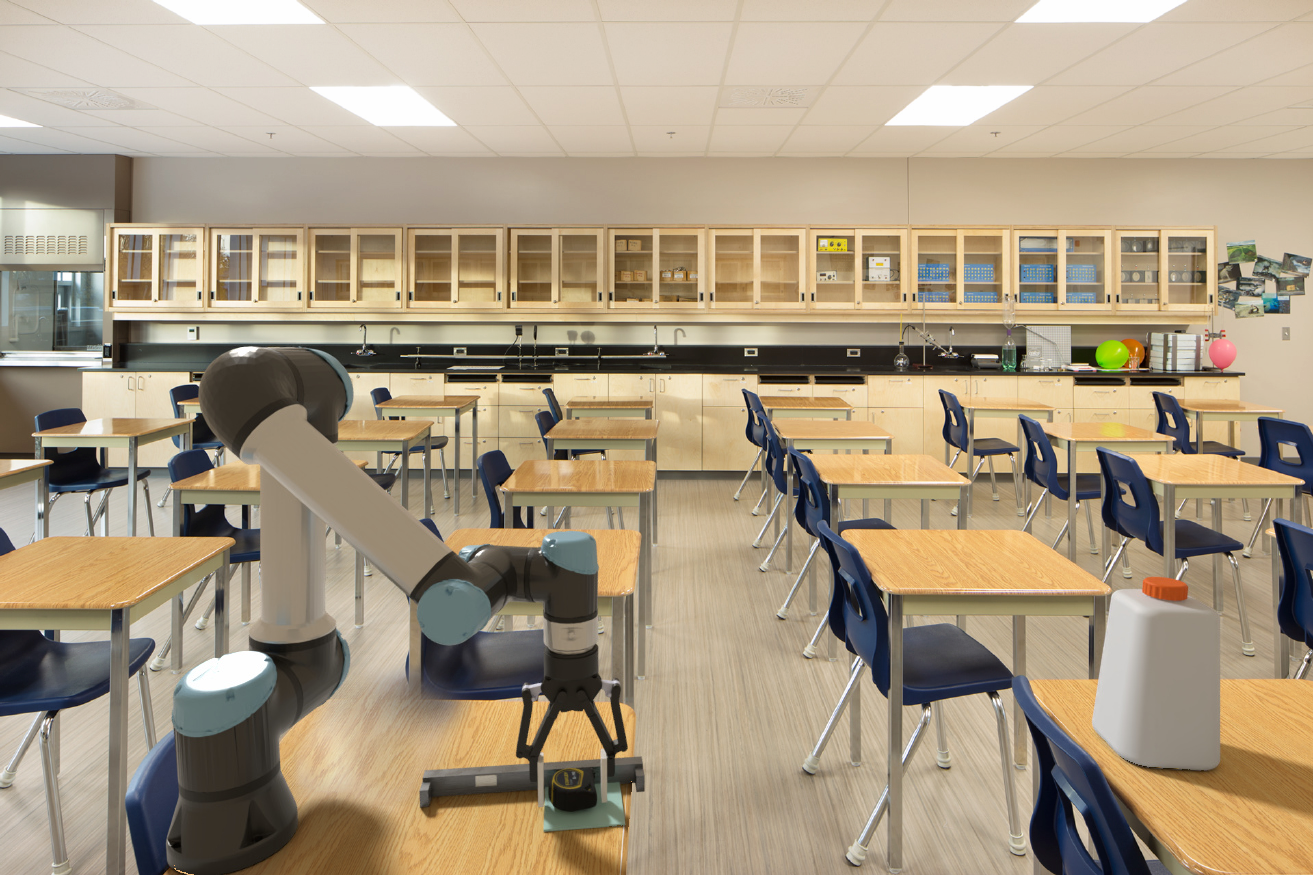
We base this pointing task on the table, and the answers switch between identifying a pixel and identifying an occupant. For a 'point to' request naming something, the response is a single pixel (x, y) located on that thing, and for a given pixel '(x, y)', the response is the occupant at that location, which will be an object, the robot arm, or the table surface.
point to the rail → (518, 777)
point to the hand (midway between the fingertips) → (572, 798)
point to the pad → (587, 812)
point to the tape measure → (573, 789)
